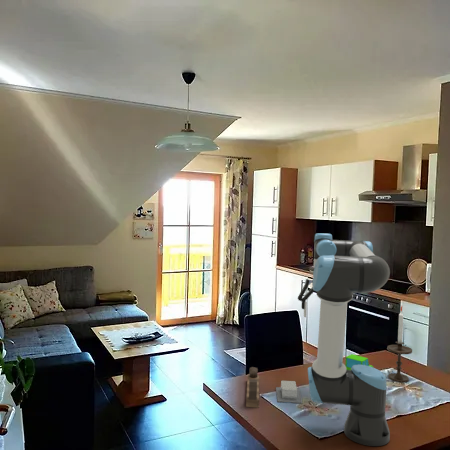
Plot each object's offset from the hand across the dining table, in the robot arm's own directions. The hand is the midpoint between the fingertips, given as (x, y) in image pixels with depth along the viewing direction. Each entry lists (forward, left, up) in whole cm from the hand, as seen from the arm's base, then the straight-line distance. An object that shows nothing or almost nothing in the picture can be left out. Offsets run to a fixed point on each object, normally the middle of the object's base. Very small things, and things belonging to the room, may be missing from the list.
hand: (320, 317), depth 191 cm
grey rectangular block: (-10, +14, -31) cm, 35 cm away
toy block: (+16, -21, -32) cm, 41 cm away
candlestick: (+16, -39, -31) cm, 53 cm away
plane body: (-10, +29, -31) cm, 44 cm away
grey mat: (-10, +14, -31) cm, 36 cm away
